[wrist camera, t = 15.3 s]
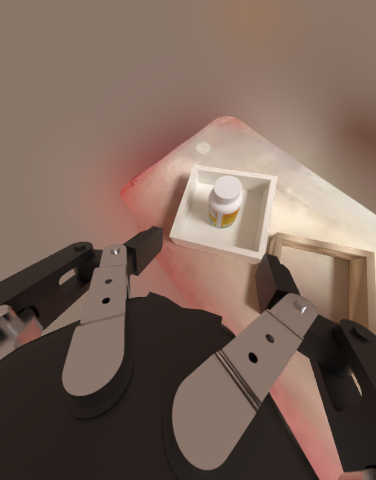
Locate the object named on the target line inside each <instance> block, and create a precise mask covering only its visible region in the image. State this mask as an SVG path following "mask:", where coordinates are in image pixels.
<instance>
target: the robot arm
mask: <svg viewBox="0 0 376 480" xmlns="http://www.w3.org/2000/svg"><path fill="white" fill-rule="evenodd" d="M162 244H163V229H162V228H159V227H155V226H153V227H151V228H150V229H148V230H146V231H143V232H140V233H139V234H137V235H136V236H134V237H133V238H131V239H130V240H128V241H127V242H126V243H124V244H123V245H121V244H114V245H110V246H108V247H106V248H105V249H104V250H95V249H93V246H92V244H91V243H89V242H78V243H74V244H72V245H70V246H68V247H66V248H64V249H62V250H60V251H58V252H56V253H54V254H53V255H50V256H49V257H47V258H45V259H43V260H41V261H39V262H37V263H35V264H33V265H31V266H30V267H27V268H26V269H24V270H22V271H20V272H18V273H16V274H14V275H12V276H10V277H8V278H7V279H5V280H3V281H1V282H0V480H319V478H318V476H317V474H316V473H315V471H314V469H313V468H312V466H311V464H310V462H309V461H308V459H307V457H306V455H305V454H304V452H303V450H302V448H301V447H300V445H299V443H298V441H297V440H296V438H295V436H294V434H293V433H292V431H291V429H290V427H289V426H288V424H287V422H286V420H285V419H284V417H283V415H282V414H281V412H280V410H279V408H278V407H277V405H276V403H275V401H274V400H273V398H272V396H271V394H270V393H269V391H270V389H271V388H272V386H273V385H274V383H275V382H276V380H277V379H278V377H279V375H280V374H281V372H282V371H283V369H284V368H285V366H286V365H287V363H288V362H289V360H290V359H291V357H292V356H293V354H294V353H295V351H296V350H297V351H299V352H300V353H302V354H303V355H305V356H306V357H308V358H309V359H310V363H311V366H312V369H313V372H314V376H315V379H316V382H317V386H318V389H319V392H320V395H321V399H322V402H323V405H324V409H325V412H326V415H327V418H328V422H329V425H330V428H331V432H332V435H333V438H334V442H335V445H336V448H337V451H338V455H339V458H340V461H341V465H342V468H343V471H344V473H342V474H341V475H340V476H339V479H338V480H376V335H375V334H374V333H372V332H371V331H370V330H368V329H367V328H365V327H364V326H362V325H360V324H359V323H356V322H354V321H351V320H347V319H343V320H341V321H340V322H339V323H338V324H336V323H334V322H332V321H330V320H328V319H326V318H324V317H322V316H321V315H319V314H318V312H317V309H316V308H315V306H314V305H313V304H312V303H311V302H310V301H309V300H307V299H306V298H304V297H302V296H301V295H300V293H299V291H298V289H297V286H296V284H295V282H294V280H293V278H292V277H291V274H290V271H289V270H288V269H287V268H286V267H285V266H284V265H282V264H280V262H279V260H278V257H277V256H275V255H270V254H266V253H265V254H264V255H263V257H262V260H261V262H260V264H259V267H258V269H257V272H256V285H257V292H258V299H259V306H260V313H261V315H260V316H259V317H257V318H256V319H255V320H254V321H253V322H252V323H251V324H250V325H248V326H247V327H246V328H245V329H244V330H243V331H242V332H241V333H240V334H238V335H237V336H235V335H234V333H233V332H232V331H231V330H230V329H228V328H227V327H226V326H225V325H223V324H222V323H221V322H222V316H219V315H216V314H213V313H210V312H207V311H204V310H198V309H188V308H182V307H180V306H179V305H177V304H176V303H174V302H173V301H171V300H170V299H168V298H166V297H164V296H161V295H158V294H155V293H152V292H150V293H149V294H148V295H147V297H135V298H131V296H130V275H131V274H133V275H136V276H138V275H139V274H140V273H141V272H142V271H143V270H144V269H145V268H146V266H147V265H148V264H149V263H150V262H151V261H152V260H153V259H154V258H155V257H156V255H157V254H158V253H159V252H160V251H161V249H162ZM71 269H74V272H75V275H74V276H72V277H71V278H70V279H68V280H67V281H66V282H64V283H63V284H62V285H59V280H60V278H61V277H62V276H63V275H64V274H65V273H67V272H68V271H70V270H71ZM87 290H89V292H88V295H87V300H86V303H85V307H84V311H83V315H82V319H81V320H78V321H76V322H74V323H71V324H69V325H67V326H65V327H62V328H60V329H58V330H55V331H53V332H51V333H48V334H46V335H44V336H41V334H42V331H43V330H45V329H46V328H47V327H48V326H49V325H50V324H51V323H52V322H53V321H54V320H56V319H57V318H58V317H59V316H60V315H61V314H62V313H63V312H64V311H65V310H66V309H68V308H69V307H70V306H71V305H72V304H73V303H74V302H75V301H76V300H77V299H79V298H80V297H81V296H82V295H83V294H84V293H85V292H86V291H87ZM40 336H41V337H40ZM353 373H354V375H355V377H356V379H357V381H358V383H359V385H360V388H361V391H362V396H361V394H360V392H359V390H358V388H357V386H356V384H355V382H354V380H353V378H352V376H351V374H353Z"/></svg>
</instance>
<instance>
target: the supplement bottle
mask: <svg viewBox="0 0 376 480" xmlns="http://www.w3.org/2000/svg"><path fill="white" fill-rule="evenodd" d="M241 189H242V185H241V182H240V181H239V180H238V179H237V178H235V177H233V176H223V177H220V178H219V179H217V180H216V182H215V183H214V187H213V189H212V191H211V192H210V195H209V220H210V222H211V224H212V225H213V226H215V227H217V228H221V229H223V228H228V227H230V226H231V225H232V224H233V223H234V222H235V220H236V217H237V214H238V212H239V209H240V207H241V204H242V199H243V197H242V193H241Z"/></svg>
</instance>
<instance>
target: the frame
mask: <svg viewBox="0 0 376 480" xmlns="http://www.w3.org/2000/svg"><path fill="white" fill-rule="evenodd" d="M282 245H283V246H288V247H292V248H297V249H301V250H306V251H310V252H315V253H319V254H324V255H328V256H333V257H337V258H342V259H346V260H349V320H351V321H354V322H356V323H359V324H360V325H362V326H364V327H365V328H367V329H368V330H370V331H371V332H372V333H374V334H375V335H376V284H375V259H374V252H370V251H365V250H360V249H355V248H351V247H346V246H341V245H336V244H331V243H326V242H322V241H317V240H312V239H307V238H302V237H298V236H293V235H288V234H283V233H278V232H277V233H276V234H275V235H273V236H272V237H271V238H270V245H269V251H268V254H270V255H275V256H277V257H278V260H279V262H280V257H281V250H282ZM259 314H261V313H260V310H259Z"/></svg>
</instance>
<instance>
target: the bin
mask: <svg viewBox="0 0 376 480" xmlns="http://www.w3.org/2000/svg"><path fill="white" fill-rule="evenodd" d="M223 176H233V177H235V178H237V179H238V180H239V181H240V182H241V185H242V189H241V193H242V197H243V199H242V204H241V207H240V209H239V212H238V214H237V217H236V220H235V222H234V223H233V224H232V225H231V226H230V227H228V228H223V229H221V228H217V227H215V226H213V225H212V224H211V222H210V220H209V195H210V192H211V191H212V189H213V187H214V183H215V182H216V180H217V179H219V178H220V177H223ZM276 183H277V176H272V175H265V174H257V173H250V172H242V171H235V170H227V169H220V168H212V167H205V166H197V165H194V166H193V169H192V171H191V174H190V177H189V180H188V183H187V186H186V189H185V192H184V195H183V197H182V200H181V203H180V206H179V209H178V212H177V215H176V218H175V221H174V224H173V226H172V229H171V232H170V235H169V237H170V238H171V240H172V241H173V242H174V243H175V244H176V245H180V246H184V247H188V248H192V249H196V250H200V251H203V252H207V253H211V254H215V255H219V256H223V257H227V258H231V259H234V260H238V261H242V262H246V263H250V264H254V265H255V264H257V263H259V262H261V260H262V257H263V255H264V254H265V252H266V246H267V239H268V233H269V227H270V220H271V214H272V208H273V201H274V195H275V189H276Z"/></svg>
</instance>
